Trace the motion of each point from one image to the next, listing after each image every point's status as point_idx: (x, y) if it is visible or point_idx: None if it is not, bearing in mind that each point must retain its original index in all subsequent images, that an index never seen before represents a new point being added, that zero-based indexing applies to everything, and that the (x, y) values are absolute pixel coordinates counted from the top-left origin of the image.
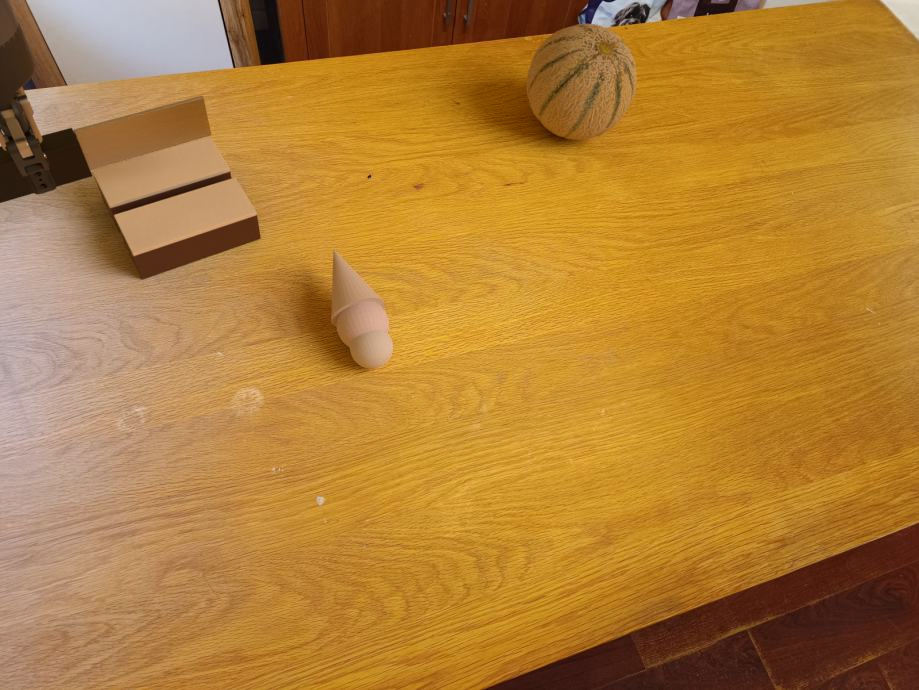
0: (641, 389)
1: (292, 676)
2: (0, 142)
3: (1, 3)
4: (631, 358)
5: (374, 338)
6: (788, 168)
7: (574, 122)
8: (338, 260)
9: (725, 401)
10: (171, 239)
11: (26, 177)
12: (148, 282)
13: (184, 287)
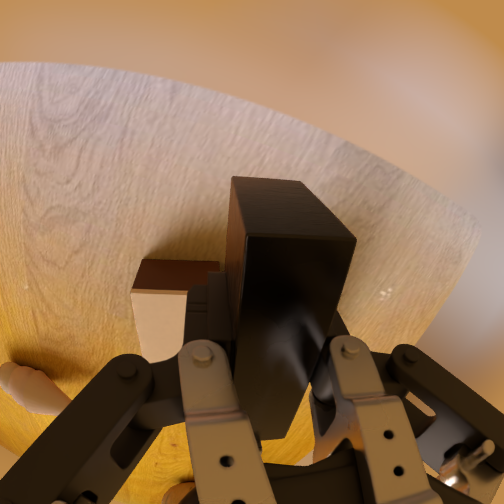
0: (10, 424)
1: None
2: (192, 456)
3: None
4: (26, 432)
5: (4, 390)
6: (131, 496)
7: (167, 501)
8: None
9: (8, 433)
10: (139, 337)
11: (208, 310)
12: (135, 263)
13: (114, 293)
